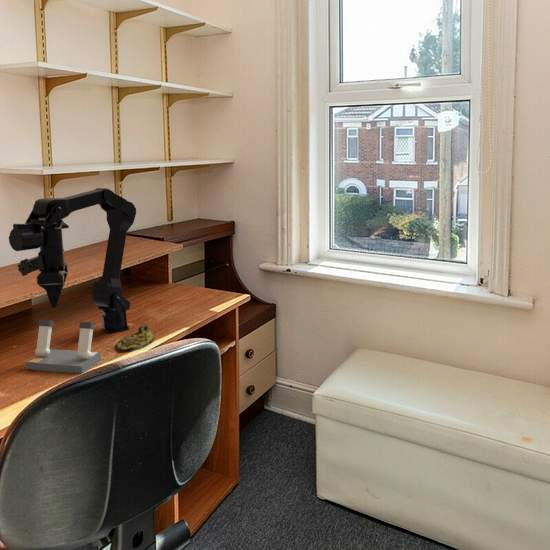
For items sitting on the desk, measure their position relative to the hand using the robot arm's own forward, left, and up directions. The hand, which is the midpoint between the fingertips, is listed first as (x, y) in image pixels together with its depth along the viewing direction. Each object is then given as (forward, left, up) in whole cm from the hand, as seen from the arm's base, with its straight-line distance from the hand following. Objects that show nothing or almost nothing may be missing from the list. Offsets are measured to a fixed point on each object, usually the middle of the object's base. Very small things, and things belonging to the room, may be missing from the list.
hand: (55, 303), depth 151 cm
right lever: (-3, +15, -11) cm, 18 cm away
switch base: (+1, +10, -14) cm, 17 cm away
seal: (-19, +6, -14) cm, 25 cm away
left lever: (+6, +6, -11) cm, 14 cm away
